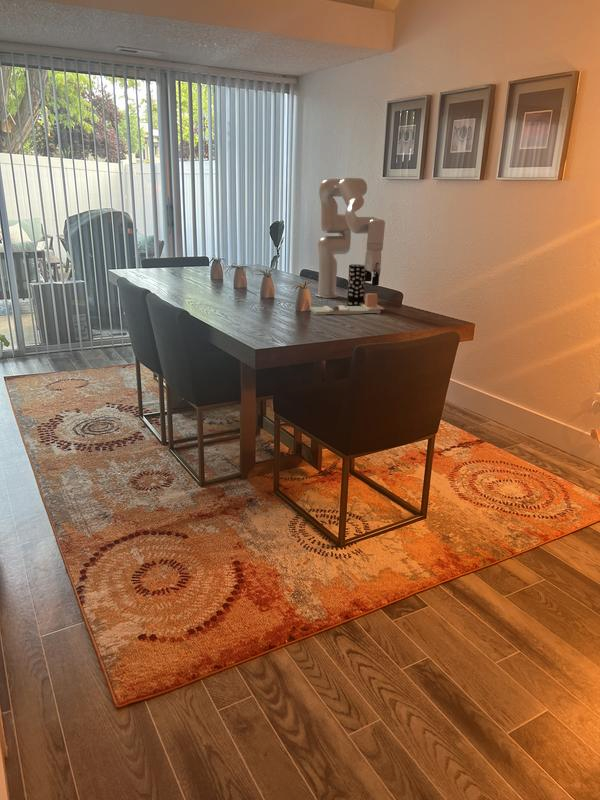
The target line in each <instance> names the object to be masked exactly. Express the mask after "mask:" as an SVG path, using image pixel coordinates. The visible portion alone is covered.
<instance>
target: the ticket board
mask: <svg viewBox="0 0 600 800" xmlns="http://www.w3.org/2000/svg"><path fill="white" fill-rule="evenodd" d="M310 309H311V311H312V312H311V311H310V312H311V313H312V314H314V315H315V314H316V315H315V316H325V315H326V314H335V315H363V314H362V313H377V314H381V312H382V311H381V310H382V309H379V310H368V309H366V308H365V307H363V306H347V305H344V304H342V305H341V304H340V305H337V304H336V303H334V302H332V301H326V305H323V306H310V307H309V310H310ZM326 316H327V315H326Z"/></svg>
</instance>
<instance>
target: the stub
mask: <svg viewBox="0 0 600 800" xmlns="http://www.w3.org/2000/svg"><path fill="white" fill-rule="evenodd" d="M378 297H379V296H378V293H375V292H373V293H372V292H369V293H366V292H365V295H364V304H361V306H363V307H365V308H366V309H368V310H385V307H383V306H381V305H380V304H378Z"/></svg>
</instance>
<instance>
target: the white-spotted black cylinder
mask: <svg viewBox="0 0 600 800" xmlns="http://www.w3.org/2000/svg"><path fill="white" fill-rule="evenodd" d="M364 265H365V264H349V267H348V278H347V279H348V281H347V297H346V306H361V304H365V288H366V281H365V268H364Z"/></svg>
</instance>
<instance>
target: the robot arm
mask: <svg viewBox="0 0 600 800" xmlns="http://www.w3.org/2000/svg"><path fill="white" fill-rule="evenodd" d="M367 191H368V184H367V182H366V181H365V180H364V179H363V178H359V177H344V178H327V179H324V180H323V181H322V182H321V183H320V186H319V193H318V195H319V200H320V205H321V207H320V208H321V209H320V211H321V213H320V216H321V217H320V218H321V219H320V221H321V222H320V226H321V231H322V232H323V233H325V234H338V235H326V236H322V237H321V238H320V239H318V242H317V246H318V247H317V248H318V257H319V259H318V261H319V264H318V288H317V290H318V291H317V292H316V293H314V294H315V295H314V296H315V297H317V296H318V297H317V298H321V297H322V298H323V299H336V298H338V297H339V293H337V292H336V290H337V273H338V263H337V259H336V258H335V256H334V255H346V254H348V253H349V252H350V250H351V239H352V234H351V233H354V234H358V235H359V234H363V235H364V234H367V239H366V252H365V257H364V264H363V265H364V268H365V282H371V286H379V285H380V284H379V283H380V277H381V276H380V275H381V266H382V251H383V250H384V247H383V246H384V239H385V238H384V237H385V227H386V221H385V220H384V219H381V218H377V217H374V216H357V215H356V212H357V211H359V210H360V209H362V207H363V206H364V203H365V199H364V197H363V196H365V194H366V193H367ZM334 197H337V198H339V197H340V198H342V199H343V201H344V203H345V204H346V208H345V214H342V213H341V214H339V213H338V207H339V205H338V203H337V201H336V199H335V198H334Z"/></svg>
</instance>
